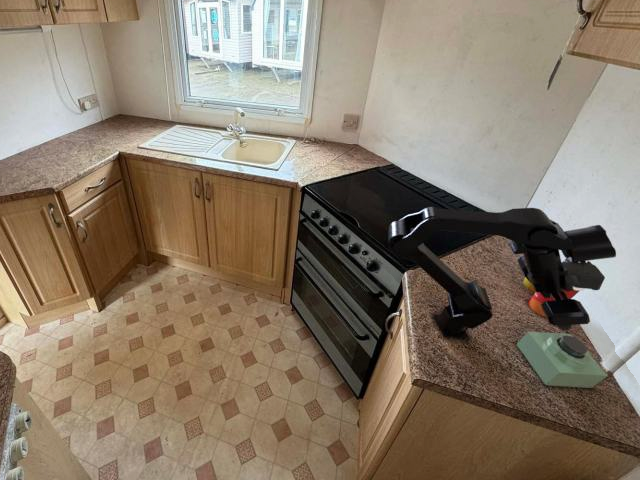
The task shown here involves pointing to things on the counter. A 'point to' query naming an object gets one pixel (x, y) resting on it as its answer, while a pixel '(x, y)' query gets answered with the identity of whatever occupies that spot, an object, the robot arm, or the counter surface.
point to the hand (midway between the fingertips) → (555, 312)
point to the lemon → (528, 285)
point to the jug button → (572, 346)
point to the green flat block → (559, 362)
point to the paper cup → (539, 299)
